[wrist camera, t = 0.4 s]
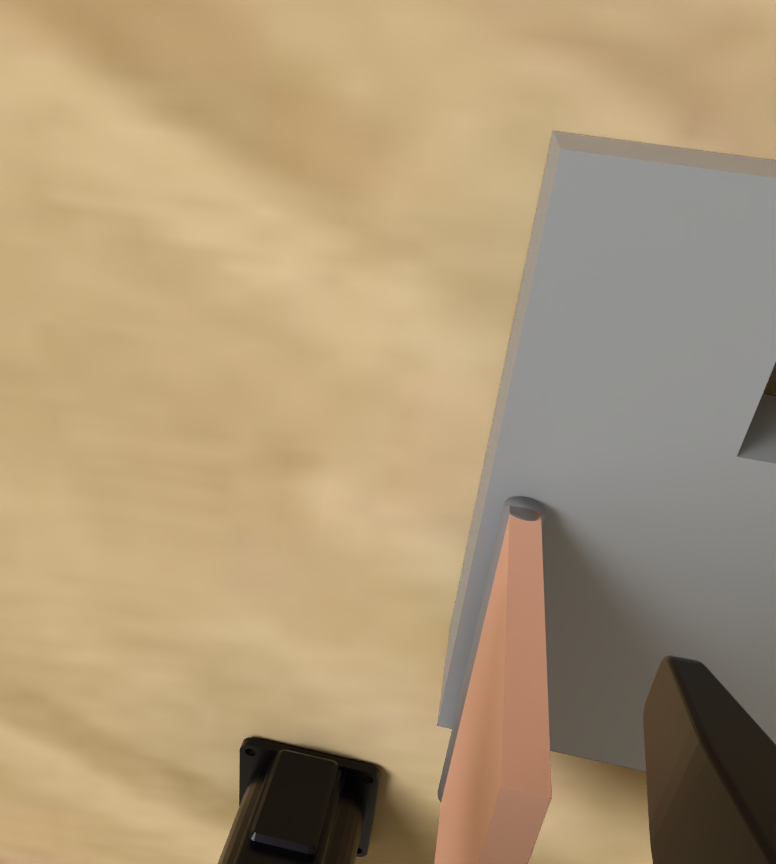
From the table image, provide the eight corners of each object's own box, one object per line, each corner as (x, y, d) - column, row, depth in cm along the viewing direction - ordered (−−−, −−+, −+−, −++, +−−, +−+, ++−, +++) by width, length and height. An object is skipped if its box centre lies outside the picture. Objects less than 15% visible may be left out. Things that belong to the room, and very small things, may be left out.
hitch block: (824, 707, 26) (878, 823, 22) (449, 629, 27) (436, 725, 23) (1127, 207, 17) (1309, 250, 13) (552, 130, 18) (560, 149, 14)
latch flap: (470, 784, 24) (447, 1106, 17) (439, 777, 24) (402, 1093, 17) (546, 500, 18) (561, 799, 11) (504, 492, 18) (491, 783, 11)
